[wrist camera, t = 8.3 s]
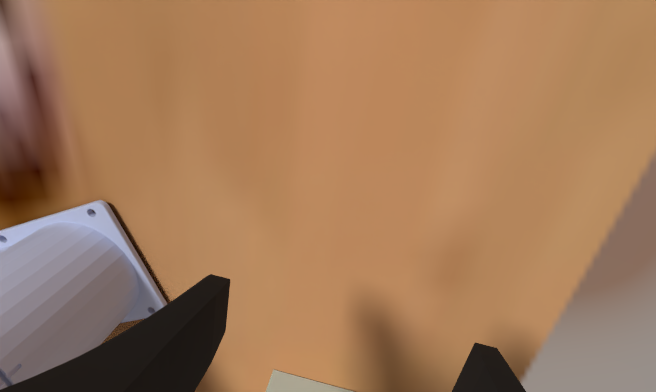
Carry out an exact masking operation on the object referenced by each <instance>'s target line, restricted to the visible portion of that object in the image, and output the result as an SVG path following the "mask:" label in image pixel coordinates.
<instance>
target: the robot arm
mask: <svg viewBox="0 0 656 392" xmlns="http://www.w3.org/2000/svg"><path fill="white" fill-rule="evenodd" d="M92 210H94V211H95V213H94V212H93V211H92ZM229 287H230V279H227V278H223V277H219V276H215V275H212V274H210V275H208V276H207V277H205V278H204V279H202V280H201V281H200V282H198V283H197V284H195V285H194V286H193V287H191V288H190V289H189V290H187V291H186V292H184V293H183V294H181V295H180V296H179V297H177V298H176V299H174V300H173V301H171V302H170V303H168V304H167V303H166V301H165V299H164V298H163V296H162V294H161V292H160V291H159V289H158V287H157V286H156V284H155V282H154V281H153V279H152V277H151V276H150V274H149V272H148V270H147V269H146V267H145V265H144V264H143V262H142V260H141V259H140V257H139V255H138V254H137V252H136V250H135V249H134V247H133V245H132V243H131V242H130V240H129V238H128V237H127V235H126V233H125V232H124V230H123V228H122V227H121V225H120V223H119V222H118V220H117V218H116V216H115V215H114V213H113V211H112V210H111V208H110V206H109V205H108V204H107V203H106V202H104V201H102V200H98V201H94V202H91V203H88V204H85V205H81V206H78V207H75V208H72V209H68V210H65V211H62V212H59V213H55V214H52V215H49V216H45V217H42V218H39V219H36V220H32V221H29V222H26V223H23V224H19V225H16V226H13V227H10V228H6V229H3V230H0V392H194V391H195V389H196V388H197V386H198V384H199V383H200V381H201V379H202V378H203V376H204V374H205V372H206V371H207V369H208V367H209V366H210V364H211V362H212V360H213V358H214V355H215V353H216V351H217V349H218V347H219V344H220V342H221V340H222V338H223V335H224V333H225V330H226V319H227V309H228V298H229ZM153 308H154V309H153ZM144 318H146V319H144ZM139 319H144V320H143V321H141V322H139V323H138V324H136V325H134V326H133V327H131V328H129V329H128V330H126V331H124V332H123V333H121V334H119V335H118V336H116V337H114V338H112V339H111V340H109V341H107V342H105V343H103V344H101V343H102V342H103V341H104V340H105V339H106V338H107V337H108V336H109V335H110V334H111V332H112V331H113V330H114V329H115V328H116V327H117V326H118V325H119V324H120V323H124V322H129V321H134V320H139ZM452 392H526V391H525V389H524V388H523V386H522V385H521V383H520V382H519V380H518V379H517V378H516V376H515V374H514V373H513V371H512V370H511V368H510V367H509V365H508V364H507V362H506V361H505V359H504V358H503V356H502V355H501V354H500V352H499V351H498V349H497V348H494V347H490V346H486V345H482V344H478V343H475V344H474V346H473V348H472V350H471V352H470V354H469V356H468V358H467V361H466V363H465V365H464V367H463V369H462V371H461V373H460V375H459V378H458V380H457V382H456V384H455V386H454V388H453V390H452Z"/></svg>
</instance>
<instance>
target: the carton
mask: <svg viewBox="0 0 656 392" xmlns="http://www.w3.org/2000/svg"><path fill="white" fill-rule="evenodd" d="M266 392H354V391H350V390H346V389H343V388H339V387H335V386H332V385H328V384H324V383H321V382H317V381H313V380H310V379H306V378H302V377H299V376H295V375H291V374H288V373H284V372H280V371H277V370H273V373H272V375H271V378H270V381H269V384H268V387H267V390H266Z"/></svg>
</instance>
